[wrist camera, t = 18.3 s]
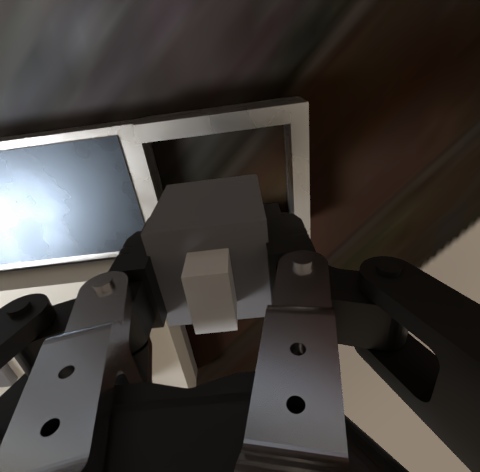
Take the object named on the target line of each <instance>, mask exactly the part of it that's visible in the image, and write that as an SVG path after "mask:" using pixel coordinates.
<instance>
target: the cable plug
mask: <svg viewBox="0 0 480 472" xmlns="http://www.w3.org/2000/svg"><path fill="white" fill-rule="evenodd" d="M140 235H141V238H142V241H143V244H144V247H145V251H146V254H147V256H150V258H151V262H152V265H153V268H154V271H155V275H156V278H157V281H158V284H159V288H160V291H161V294H162V297H163V301H164V304H165V307H166V310H167V317H166V318H167V321H168V324H169V327H170V326H180V325H189V324H193V326H194V330H195V334H205V333H215V332H225V331H234V330H238V326H237V320H238V319H247V318H257V317H265V312H266V308H267V305H272V303H271V293H270V282H269V271H268V260H267V249H266V243H269V242H268V230H267V219H266V215H265V210H264V206H263V201H262V196H261V192H260V187H259V183H258V178H257V174H253V175H245V176H237V177H228V178H220V179H212V180H204V181H195V182H187V183H179V184H171V185H167V186H166V188H165V189H164V191H163V193H162V195H161V197H160V199H159V201H158V203H157V204H156V206H155V208H154V210H153V212H152V214H151V216H150V218H149V219H148V221H147V223H146V225H145V227H144V229H143V231H142V233H141V234H140Z"/></svg>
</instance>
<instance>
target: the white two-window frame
mask: <svg viewBox="0 0 480 472" xmlns="http://www.w3.org/2000/svg"><path fill="white" fill-rule="evenodd" d="M277 125H284V142H285V162H286V181H287V201H288V212H283V213H281V214H282V215H284V214H295V215H296V216H298V217H299V218H301V219H302V221H303V223H304V226H305V228H306V230H307V234H308V235H309V237H310V168H309V102H308V101H306V100H305V99H303V98H301V97H300V96H293V97H286V98H279V99H271V100H264V101H256V102H249V103H242V104H234V105H227V106H219V107H212V108H205V109H197V110H190V111H182V112H175V113H168V114H160V115H153V116H145V117H143V118H139V119H131V120H124V121H116V122H109V123H102V124H94V125H87V126H79V127H72V128H65V129H57V130H50V131H42V132H35V133H28V134H20V135H13V136H5V137H0V270H7V269H16V268H24V267H33V266H42V265H50V264H59V263H67V262H76V261H84V260H93V259H101V258H110V257H117V255H119V252H120V250H121V249H122V248H123V245H124V243H125V242H126V240H127V239H128V238H129V237H130V236H131V235H133V234H134V233H135V232H137V231H142V229H143V227H144V225H145V223H146V221H147V219H148V218H150V216H151V214H152V212H153V210H154V208H155V206H156V204H157V203H158V201H159V199H160V197H161V195H162V193H163V187H162V183H161V179H160V175H159V172H158V168H157V164H156V160H155V156H154V152H153V149H152V145H151V142H155V141H163V140H171V139H178V138H186V137H193V136H201V135H209V134H216V133H224V132H231V131H239V130H247V129H254V128H262V127H269V126H277Z"/></svg>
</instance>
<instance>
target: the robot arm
mask: <svg viewBox="0 0 480 472" xmlns="http://www.w3.org/2000/svg"><path fill="white" fill-rule="evenodd" d="M263 206H264V210H265V215H266V219H267V230H268V242H269V243H266V249H267V260H268V271H269V282H270V293H271V303H272V305H267V308H266V312H265V318H264V324H263V330H262V336H261V342H260V348H259V354H258V359H257V365H256V371H254V372H244V373H235V374H232V375H229V376H226V377H223V378H220V379H217V380H214V381H211V382H208V383H205V384H202V385H199V386H196V387H193V388H181V387H175V386H169V385H162V384H156V383H152V342H151V339H150V332H151V329H152V328H161V327H164V325H165V321H166V317H167V310H166V307H165V304H164V301H163V297H162V294H161V291H160V288H159V284H158V281H157V278H156V275H155V271H154V268H153V265H152V262H151V258H150V256H147V254H146V251H145V247H144V244H143V241H142V238H141V235H140V234H141V233H142V231H143V229H144V227H145V225H146V223H147V221H148V219H149V218H148V219H147V221H146V223H145V225H144V227H143V229H142V231H137V232H135V233H134V234H133V235H131V236H130V237H129V238H128V239H127V240H126V242H125V243H124V245H123V248H122V249H121V250H120V252H119V255H117V257H116V259H115V260H114V262H113V264H112V266H111V267H110V269H109V271H108V272H106V273H102V274H99V275H97V276H95V277H93V278H91V279H90V280H88V281H87V282H85V283H84V284H83V285H82V286H81V288H80V289H79V292H78V295H77V297H76V298H75V299H72V300H69V301H65V302H62V303H59V304H56V305H52V304H51V302H50V300H49V299H48V297H47V296H46V295H45V294H40V293H35V294H29V295H25V296H22V297H20V298H17V299H15V300H13V301H11V302H9V303H8V304H6V305H5V306H3V307H2V308H0V369H1V368H2V367H3V366H5V365H6V364H7V363H8V362H9V361H10V360H11V359H13V358H15V359H16V361H17V362H18V364H19V365H20V366H21V368H22V369H23V371H24V372H25V374H23V375H22V376H21V377H20V378H19V379H18V380H17V381H16V382H15V383H14V384H13V385H12V386H11V387H10V388H9V389H8V390H7V391H6V392H5V393H3V394H2V395H1V396H0V472H409V471H408V470H406V469H405V468H404V467H403V466H402V465H401V464H400V463H399V462H397V461H396V460H395V459H393V457H392V456H391V455H390V454H388V453H387V452H386V451H385V450H384V449H383V448H382V447H381V446H379V445H378V444H377V443H376V442H375V441H374V440H373V439H371V438H370V437H369V436H368V435H367V434H366V433H365V432H363V431H362V430H361V429H360V428H359V427H358V426H357V425H356V424H355V423H353V422H352V421H351V420H350V419H349V418H348V417H346V416H345V415H344V406H343V395H342V384H341V373H340V364H339V352H338V344H343V345H349V346H354V347H355V349H356V351H357V353H358V354H359V355H360V356H361V357H362V358H363V359H364V360H365V361H366V362H367V363H368V364H369V365H370V366H371V367H372V368H373V369H374V371H375V372H376V373H377V374H378V375H379V376H380V377H381V378H382V379H383V380H384V381H385V382H386V383H387V384H388V385H389V386H390V387H391V388H392V389H393V390H394V391H395V392H396V393H397V394H398V396H399V397H401V399H402V400H403V401H404V402H405V403H406V404H407V405H408V406H409V407H410V408H411V409H412V410H413V411H414V412H415V413H416V414H417V415H418V416H419V417H420V418H421V419H422V420H423V422H425V424H426V425H427V426H428V427H429V428H430V429H431V430H432V431H433V432H434V433H435V434H436V435H437V436H438V437H439V438H440V439H441V440H442V441H443V442H444V443H445V444H446V445H447V447H448V448H449V449H450V450H451V451H452V452H453V453H454V454H455V455H456V456H457V457H458V458H459V459H460V460H461V461H462V462H463V463H464V464H465V465H466V466H467V467H468V468H469V469H470V470H471V472H480V304H478V303H476V302H475V301H473V300H471V299H470V298H468V297H466V296H464V295H462V294H461V293H459V292H458V291H456V290H454V289H452V288H451V287H449V286H447V285H446V284H444V283H442V282H440V281H439V280H437V279H435V278H434V277H432V276H430V275H429V274H427V273H425V272H423V271H422V270H420V269H418V268H417V267H415V266H413V265H411V264H410V263H408V262H406V261H404V260H401V259H398V258H394V257H387V256H380V257H373V258H369V259H367V260H365V261H364V262H363V263H362V264H361V266H360V271H354V270H344V269H338V268H334V267H331V266H329V265H328V261H327V259H326V258H325V257H324V256H322V255H321V254H319V253H316V251H315V249H314V246H313V244H312V242H311V240H310V237H309V235H308V234H307V230H306V228H305V226H304V223H303V221H302V219H301V218H299V217H298V216H296V215H295V214H284V215H282V214H281V211H280V208H279V204H278V203H270V204H263ZM408 331H410V332H411V333H412V334H414V335H415V336H416V337H417V338H419V339H420V340H421V341H422V342H423V343H425V344H426V345H427V346H429V348H430V349H431V350H432V351H433V352H434V353H435V355H434V354H433V353H432V352H431V351H430V350H428V349H427V348H426V347H425V346H423V345H422V344H421V343H420V342H419V341H417V340H416V339H415V338H413V337H412V336H411V335H410V334H409V333H408Z"/></svg>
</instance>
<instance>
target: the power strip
mask: <svg viewBox="0 0 480 472" xmlns="http://www.w3.org/2000/svg"><path fill="white" fill-rule="evenodd" d="M115 259H116V257H110V258H101V259H93V260H84V261H76V262H67V263H59V264H50V265H42V266H33V267H24V268H16V269H7V270H0V308H2V307H3V306H5V305H6V304H8V303H9V302H11V301H13V300H15V299H17V298H20V297H22V296H25V295H29V294H35V293H40V294H45V295H46V296H47V297H48V299H49V300H50V302H51V304H52V305H56V304H59V303H62V302H65V301H69V300H72V299H75V298H76V297H77V295H78V292H79V289H80V288H81V286H82V285H83V284H84V283H85V282H87V281H88V280H90V279H91V278H93V277H95V276H97V275H99V274H102V273H106V272H108V271H109V269H110V267H111V266H112V264H113V262H114V260H115ZM150 339H151V342H152V383H156V384H162V385H169V386H175V387H181V388H193V387H196V380H197V371H198V369H197V365H196V362H195V359H194V355H193V352H192V348H191V345H190V341H189V338H188V334H187V331H186V328H185V325H180V326H170V327H169V324H168V321H167V318H166V321H165V325H164V327H161V328H152V329H151V332H150ZM23 374H25V372H24V371H23V369H22V368H21V366H20V365H19V364H18V362H17V361H16V359H15V358H13V359H11V360H10V361H9V362H8V363H7V364H6V365H5V366H3V367H2V368H1V369H0V396H1V395H2V394H3V393H5V392H6V391H7V390H8V389H9V388H10V387H11V386H12V385H13V384H14V383H15V382H16V381H17V380H18V379H19V378H20V377H21V376H22V375H23Z"/></svg>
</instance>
